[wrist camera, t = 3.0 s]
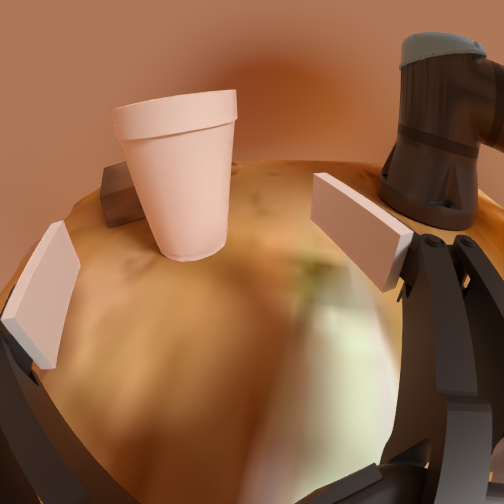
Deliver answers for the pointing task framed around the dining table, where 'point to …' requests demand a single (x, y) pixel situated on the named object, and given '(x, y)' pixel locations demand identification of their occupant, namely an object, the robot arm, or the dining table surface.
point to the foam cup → (181, 168)
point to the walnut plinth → (119, 196)
